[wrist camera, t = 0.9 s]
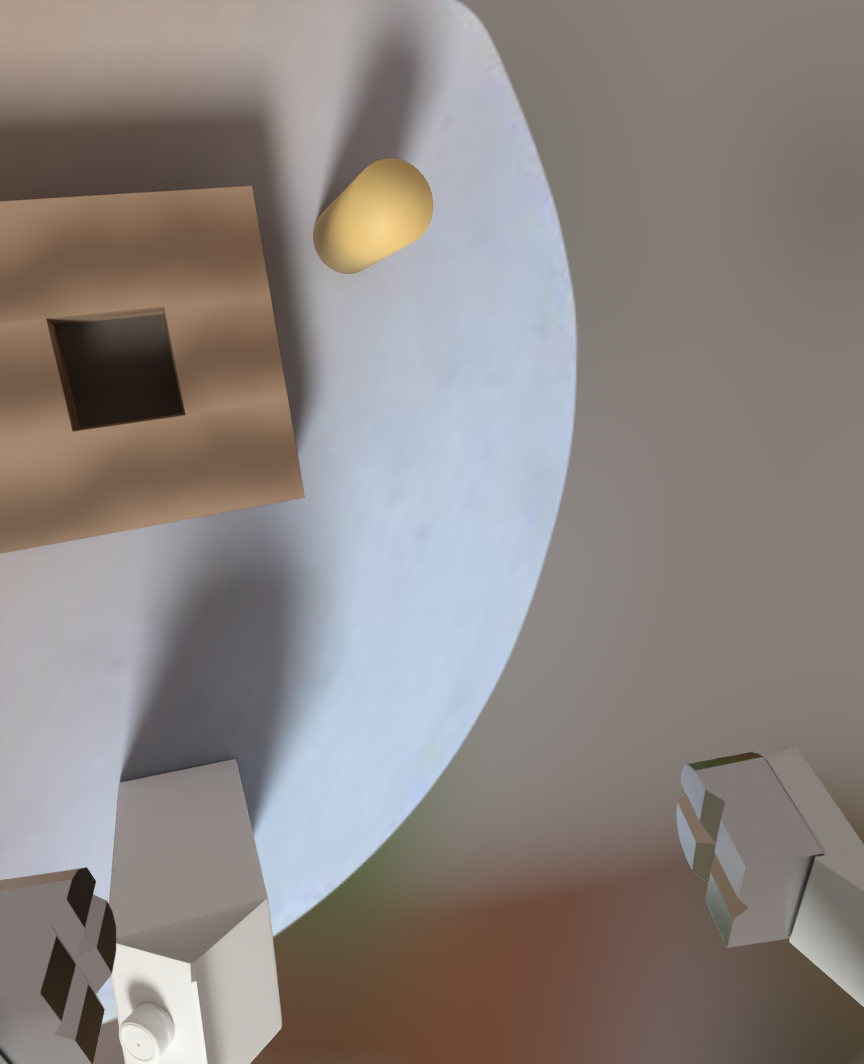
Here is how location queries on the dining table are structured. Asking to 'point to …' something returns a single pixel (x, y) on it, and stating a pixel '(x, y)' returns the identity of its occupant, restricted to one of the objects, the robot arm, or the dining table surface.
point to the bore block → (137, 365)
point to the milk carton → (191, 922)
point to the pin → (374, 216)
